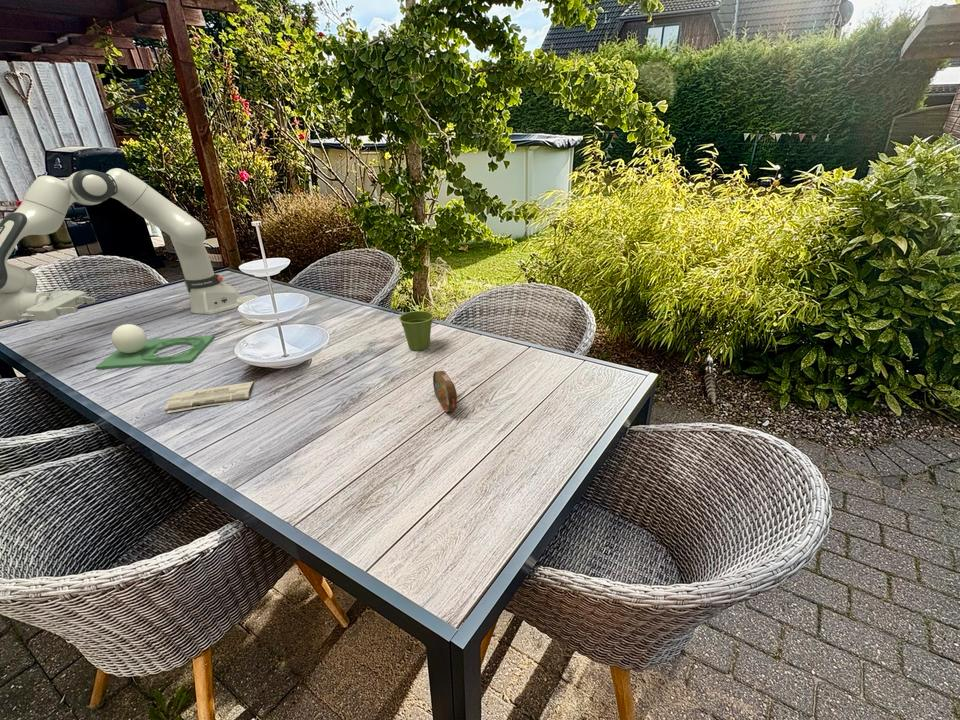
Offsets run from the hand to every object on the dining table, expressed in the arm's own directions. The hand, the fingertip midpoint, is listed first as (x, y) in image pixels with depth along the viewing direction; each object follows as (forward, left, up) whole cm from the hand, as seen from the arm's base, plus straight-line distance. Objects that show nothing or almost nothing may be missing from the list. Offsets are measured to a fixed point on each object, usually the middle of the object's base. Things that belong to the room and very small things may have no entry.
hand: (85, 304), depth 160 cm
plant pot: (-91, +61, -19) cm, 111 cm away
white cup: (-49, -1, -19) cm, 53 cm away
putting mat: (-15, +9, -19) cm, 26 cm away
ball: (-8, +5, -13) cm, 16 cm away
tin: (-79, +99, -19) cm, 128 cm away
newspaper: (-26, +55, -20) cm, 64 cm away
